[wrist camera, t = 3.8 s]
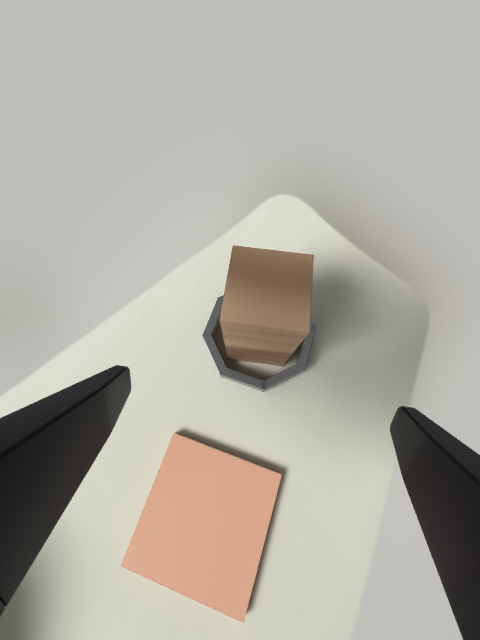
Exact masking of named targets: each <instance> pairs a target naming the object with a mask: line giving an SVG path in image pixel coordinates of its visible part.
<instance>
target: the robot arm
mask: <svg viewBox="0 0 480 640" xmlns="http://www.w3.org/2000/svg"><path fill="white" fill-rule="evenodd" d="M130 391H131V378H130V370H129V368H128V367H126V366H119V365H116V366H114V367H111V368H109V369H107V370H105V371H103V372H100V373H98V374H96V375H94V376H92V377H90V378H87V379H85V380H83V381H81V382H79V383H76V384H74V385H72V386H70V387H68V388H65V389H63V390H61V391H59V392H57V393H54V394H52V395H50V396H48V397H46V398H44V399H41V400H39V401H37V402H35V403H33V404H30V405H28V406H26V407H24V408H22V409H19V410H17V411H15V412H13V413H11V414H8V415H6V416H4V417H2V418H0V617H1V615H2V613H3V612H4V610H5V606H7V605H8V603H9V601H10V600H11V598H12V596H13V595H14V593H15V592H16V590H17V588H18V587H19V585H20V583H21V582H22V580H23V578H24V577H25V575H26V573H27V572H28V570H29V568H30V567H31V565H32V563H33V562H34V560H35V558H36V557H37V555H38V553H39V552H40V550H41V548H42V547H43V545H44V543H45V542H46V540H47V539H48V537H49V535H50V534H51V532H52V530H53V529H54V527H55V525H56V524H57V522H58V520H59V519H60V517H61V515H62V514H63V512H64V510H65V509H66V507H67V505H68V504H69V502H70V500H71V499H72V497H73V495H74V494H75V492H76V490H77V489H78V487H79V486H80V484H81V482H82V481H83V479H84V477H85V476H86V474H87V472H88V471H89V469H90V467H91V466H92V464H93V462H94V461H95V459H96V457H97V456H98V454H99V452H100V451H101V449H102V447H103V446H104V444H105V442H106V441H107V439H108V437H109V436H110V434H111V432H112V430H113V428H114V426H115V424H116V422H117V420H118V417H119V415H120V413H121V411H122V409H123V407H124V405H125V402H126V400H127V398H128V396H129V394H130ZM390 432H391V436H392V440H393V444H394V447H395V451H396V455H397V459H398V463H399V466H400V470H401V474H402V477H403V480H404V483H405V486H406V488H407V491H408V494H409V496H410V499H411V502H412V504H413V507H414V510H415V513H416V515H417V518H418V520H419V523H420V526H421V528H422V531H423V534H424V536H425V539H426V542H427V544H428V547H429V550H430V552H431V555H432V558H433V560H434V563H435V566H436V568H437V571H438V574H439V576H440V579H441V582H442V584H443V587H444V590H445V592H446V595H447V598H448V600H449V603H450V606H451V608H452V611H453V614H454V616H455V619H456V621H457V624H458V627H459V629H460V632H461V635H462V638H463V640H480V455H479V454H477V453H476V452H474V451H473V450H472V449H470V448H469V447H467V446H466V445H465V444H463V443H462V442H461V441H459V440H458V439H457V438H455V437H454V436H452V435H451V434H450V433H448V432H447V431H445V430H444V429H443V428H441V427H440V426H439V425H437V424H436V423H434V422H433V421H432V420H430V419H429V418H427V417H426V416H425V415H423V414H422V413H420V412H419V411H418V410H416V409H415V408H412V407H405V406H401V407H399V408H398V409H397V411H396V414H395V416H394V418H393V420H392V422H391V425H390Z"/></svg>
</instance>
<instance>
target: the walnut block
mask: <svg viewBox="0 0 480 640" xmlns="http://www.w3.org/2000/svg"><path fill="white" fill-rule="evenodd" d="M313 259H314V255H310V254H301V253H293V252H284V251H276V250H267V249H259V248H250V247H242V246H233V247H232V253H231V259H230V264H229V270H228V275H227V281H226V287H225V292H224V298H223V303H222V309H221V315H220V320H219V321H220V325H221V330H222V334H223V339H224V343H225V348H226V352H227V357H228V359H233V360H240V361H247V362H255V363H262V364H269V365H276V366H283V365H284V364H285V363H286V361H287V360H288V359H289V358H290V356H291V355H292V354H293V353H294V351H295V350H296V349H297V347H298V346H299V345H300V344H301V342H302V341H303V340H304V339H305V337H306V336H307V335H308V333H309V331H310V313H311V295H312V277H313Z"/></svg>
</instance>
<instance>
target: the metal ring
mask: <svg viewBox="0 0 480 640" xmlns="http://www.w3.org/2000/svg"><path fill="white" fill-rule="evenodd" d="M223 298H224V295H223V296H221V297H218V299H217V302H216V304H215V306H214V309H213V311H212V314H211V316H210V319H209V321H208V323H207V326H206V328H205V331H204V333H203V338H204V340H205V341H206V344H207V346H208V348H209V350H210V352H211V354H212V357H213V359H214V361H215V363H216V365H217V368H218V370H219V372H220V375H221V377H223V378H226V379H229V380H232V381H235V382H238V383H240V384H243V385H246V386H249V387H252V388H255V389H257V390H260V391H262V392H264V391H265V390H267V389H269V388H271V387H273V386H275V385H277V384H279V383H281V382H283V381H285V380H287V379H289V378H291V377H293V376H295V375H297V374H299V373H302V372H303V371H304V370H305V367H306V363H307V359H308V355H309V351H310V348H311V344H312V340H313V336H314V332H315V330H316V328H315V327H314V325H313V324H312V322H311V320H310V331H309V333H308V335H307V336H306V337H305V339H304V340H303V341H302V343H301V346H300V350H299V353H298V357H297V361H296V364H295V365H294V366H292V367H290V368H288V369H286V370H284V371H282V372H280V373H278V374H276V375H274V376H272V377H270V378H268V379H266V380H264V381H262V380H260V379H257V378H254V377H251V376H248V375H245V374H242V373H239V372H237V371H234V370H231V369H228V368H226V366H225V364H224V361H223V359H222V357H221V355H220V353H219V351H218V349H217V346H216V344H215V342H214V340H213V337H214V334H215V331H216V329H217V326H218V324H219V320H220V315H221V309H222V303H223Z"/></svg>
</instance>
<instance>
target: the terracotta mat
mask: <svg viewBox="0 0 480 640" xmlns="http://www.w3.org/2000/svg"><path fill="white" fill-rule="evenodd" d="M281 476H282V475H281V473H278V472H276V471H273V470H271V469H268V468H265V467H263V466H260V465H258V464H255V463H252V462H250V461H247V460H245V459H242V458H240V457H237V456H234V455H232V454H229V453H227V452H224V451H221V450H219V449H216V448H214V447H211V446H208V445H206V444H203V443H201V442H198V441H195V440H193V439H190V438H188V437H185V436H183V435H180V434H177V433H173V436H172V438H171V441H170V443H169V446H168V448H167V451H166V453H165V456H164V458H163V461H162V464H161V466H160V469H159V471H158V474H157V476H156V479H155V481H154V484H153V486H152V489H151V491H150V494H149V496H148V499H147V501H146V504H145V506H144V509H143V511H142V514H141V516H140V519H139V521H138V524H137V526H136V529H135V532H134V534H133V537H132V539H131V542H130V544H129V547H128V549H127V552H126V554H125V557H124V559H123V562H122V564H121V566H122V567H124V568H126V569H128V570H130V571H132V572H135V573H137V574H139V575H141V576H143V577H145V578H148V579H150V580H152V581H154V582H156V583H158V584H161V585H163V586H165V587H167V588H169V589H171V590H174V591H176V592H178V593H180V594H182V595H184V596H187V597H189V598H191V599H193V600H195V601H197V602H200V603H202V604H204V605H206V606H208V607H210V608H213V609H215V610H217V611H219V612H221V613H223V614H226V615H228V616H230V617H232V618H234V619H236V620H239V621H241V622H243V623H244V620H245V616H246V612H247V608H248V604H249V600H250V596H251V592H252V589H253V585H254V581H255V577H256V573H257V569H258V565H259V561H260V558H261V554H262V550H263V546H264V542H265V538H266V534H267V530H268V526H269V523H270V519H271V515H272V511H273V507H274V503H275V499H276V495H277V491H278V488H279V484H280V480H281Z"/></svg>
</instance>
